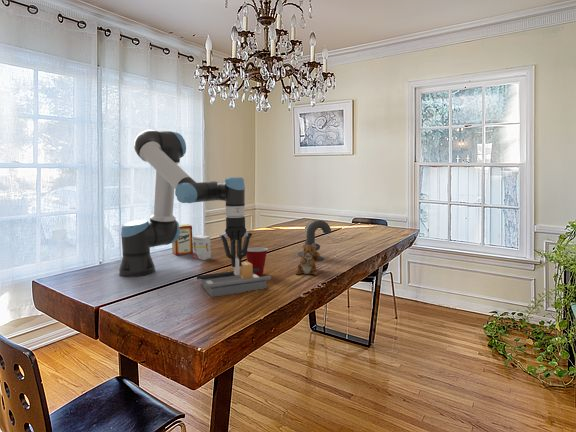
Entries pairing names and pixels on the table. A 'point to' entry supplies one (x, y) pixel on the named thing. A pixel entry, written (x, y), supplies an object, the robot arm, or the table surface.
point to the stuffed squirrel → (308, 260)
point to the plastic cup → (257, 258)
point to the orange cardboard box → (183, 241)
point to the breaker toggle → (246, 270)
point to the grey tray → (231, 281)
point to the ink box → (201, 247)
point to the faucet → (311, 235)
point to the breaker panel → (231, 288)
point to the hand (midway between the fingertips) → (236, 274)
